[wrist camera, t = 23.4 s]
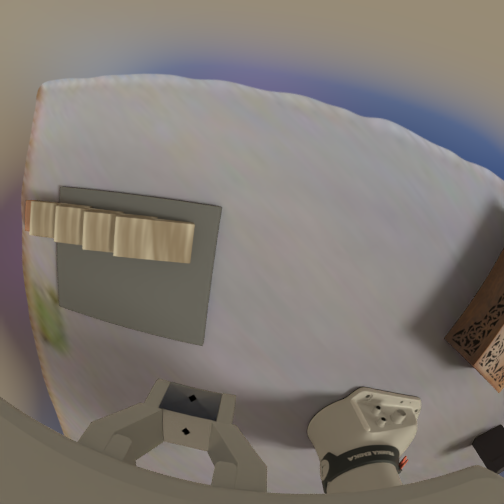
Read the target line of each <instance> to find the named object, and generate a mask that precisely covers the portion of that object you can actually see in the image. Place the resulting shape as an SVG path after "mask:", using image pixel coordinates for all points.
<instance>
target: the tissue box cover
mask: <svg viewBox="0 0 504 504" xmlns="http://www.w3.org/2000/svg"><path fill="white" fill-rule="evenodd" d="M444 339H446V340H447V341H448V342H449V343H450V344H451V345H452V346H453V347H454V348H455V349H456V350H457V351H458V352H459V353H460V354H461V355H462V356H463V357H464V358H465V359H466V360H467V361H468V362H469V363H470V364H471V365H472V366H473V367H474V368H475V369H476V370H477V371H478V372H479V373H480V374H481V375H482V376H483V377H484V378H485V379H486V380H487V381H488V382H489V383H490V384H491V385H492V386H493V387H494V388H495V389H496V390H497V391H498V393H499V392H500V391H501V390H502V389H503V388H504V249H503V251H502V252H501V254H500V256H499V258H498V260H497V261H496V263H495V265H494V267H493V268H492V270H491V272H490V273H489V275H488V277H487V278H486V280H485V281H484V283H483V285H482V286H481V288H480V289H479V291H478V292H477V294H476V295H475V297H474V298H473V300H472V301H471V303H470V304H469V306H468V307H467V308H466V310H465V311H464V313H463V314H462V315H461V317H460V318H459V319H458V321H457V322H456V323H455V325H454V326H453V327H452V329H451V330H450V331H449V333H448V334H447V335H446V336H445V338H444Z"/></svg>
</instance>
